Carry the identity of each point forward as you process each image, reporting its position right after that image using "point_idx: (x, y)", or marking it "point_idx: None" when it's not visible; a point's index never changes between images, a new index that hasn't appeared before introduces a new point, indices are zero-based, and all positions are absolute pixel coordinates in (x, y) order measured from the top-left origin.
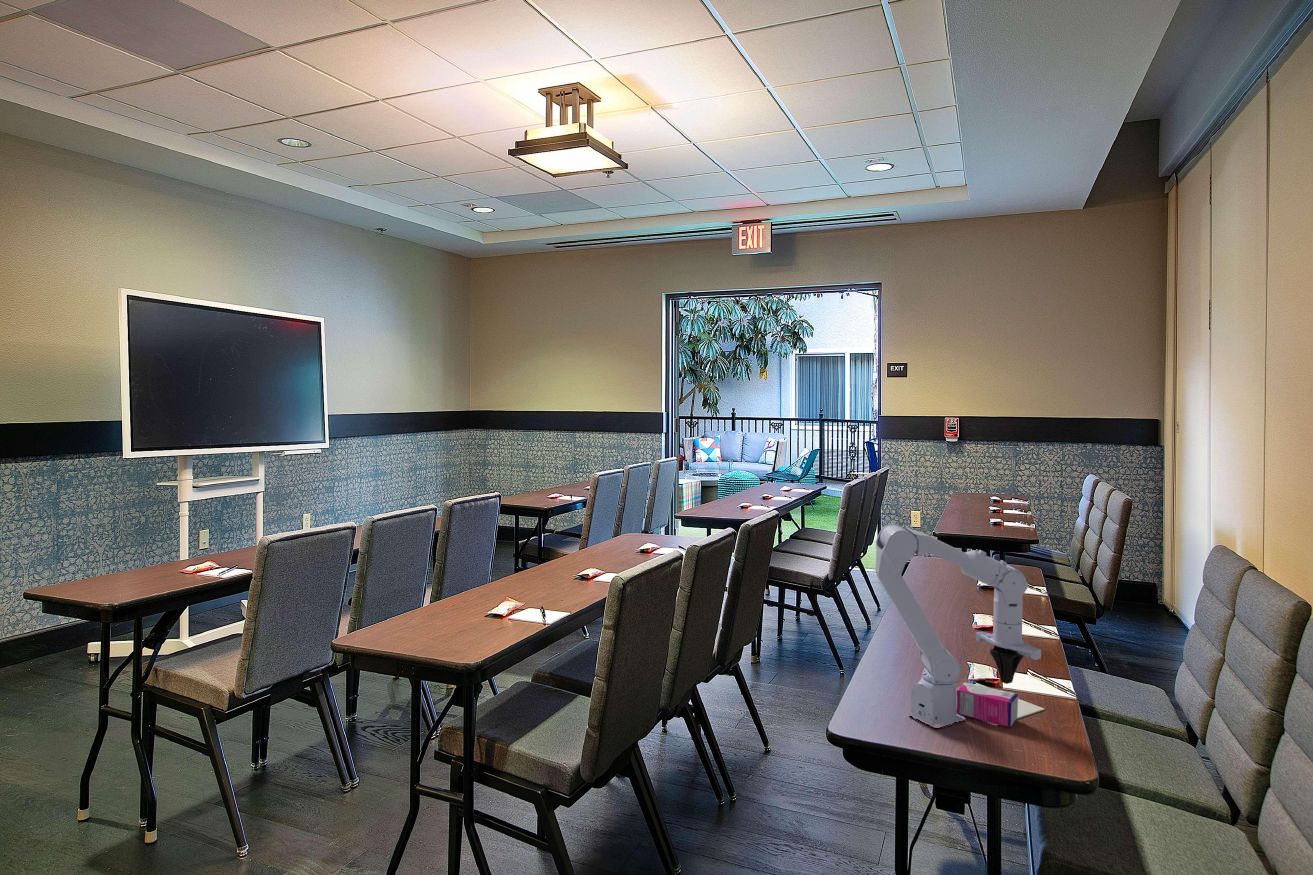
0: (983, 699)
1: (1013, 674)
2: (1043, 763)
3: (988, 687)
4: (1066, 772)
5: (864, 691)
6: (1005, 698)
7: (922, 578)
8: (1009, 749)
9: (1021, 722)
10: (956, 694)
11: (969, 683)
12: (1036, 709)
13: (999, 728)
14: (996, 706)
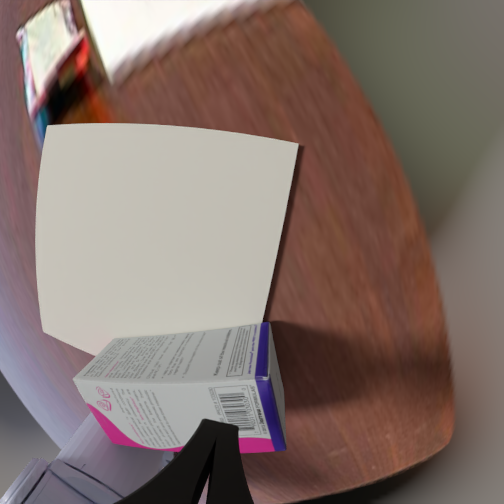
0: None
1: (238, 460)
2: (390, 455)
3: (79, 124)
4: (425, 448)
5: (6, 371)
6: (255, 442)
7: None
8: (322, 459)
9: (288, 323)
10: (140, 470)
11: (86, 382)
12: (281, 177)
13: None
14: None
